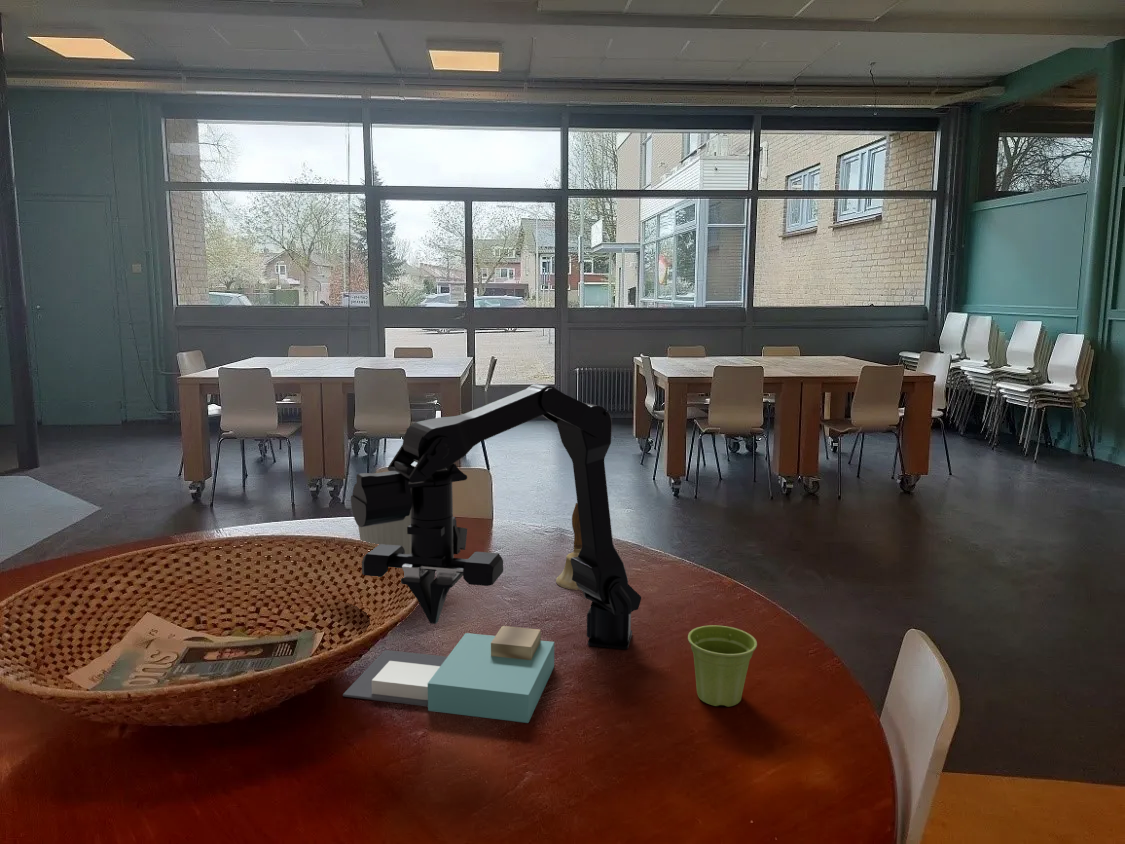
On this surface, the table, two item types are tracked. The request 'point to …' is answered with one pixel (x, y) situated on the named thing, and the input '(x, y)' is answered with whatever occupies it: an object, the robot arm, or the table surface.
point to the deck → (489, 681)
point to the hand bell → (571, 555)
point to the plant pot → (721, 662)
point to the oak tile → (516, 642)
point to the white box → (404, 680)
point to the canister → (388, 534)
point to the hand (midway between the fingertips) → (434, 622)
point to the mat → (364, 682)
